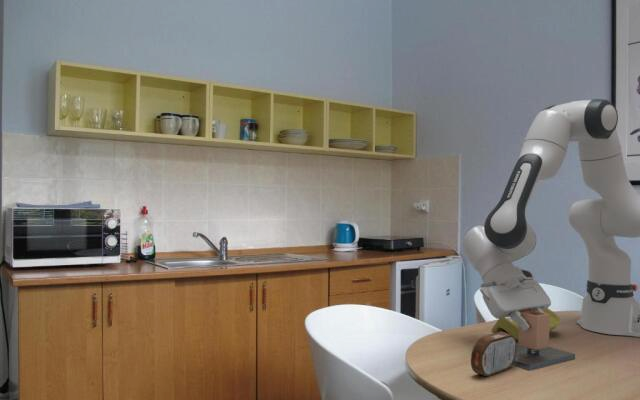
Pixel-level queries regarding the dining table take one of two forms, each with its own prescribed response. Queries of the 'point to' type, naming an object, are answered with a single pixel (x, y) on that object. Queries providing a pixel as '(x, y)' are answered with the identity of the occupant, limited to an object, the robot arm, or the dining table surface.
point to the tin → (493, 353)
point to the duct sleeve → (535, 330)
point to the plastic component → (513, 327)
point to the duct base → (539, 357)
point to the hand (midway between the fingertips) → (536, 327)
